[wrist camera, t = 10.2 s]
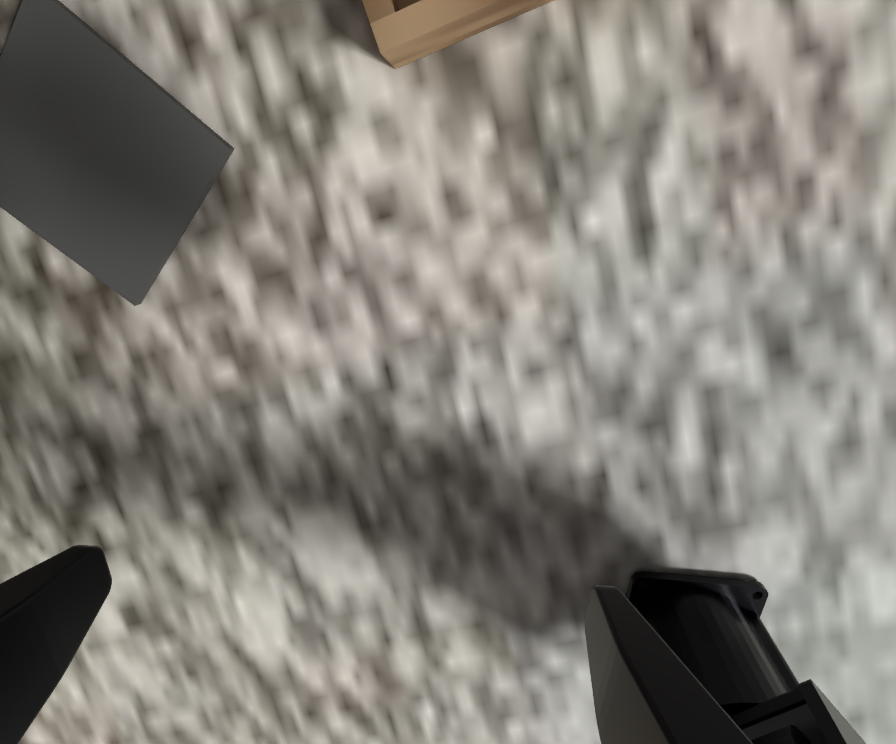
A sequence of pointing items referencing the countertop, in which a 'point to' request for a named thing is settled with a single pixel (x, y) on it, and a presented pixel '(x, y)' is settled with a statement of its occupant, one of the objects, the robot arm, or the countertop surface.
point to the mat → (97, 150)
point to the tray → (435, 23)
